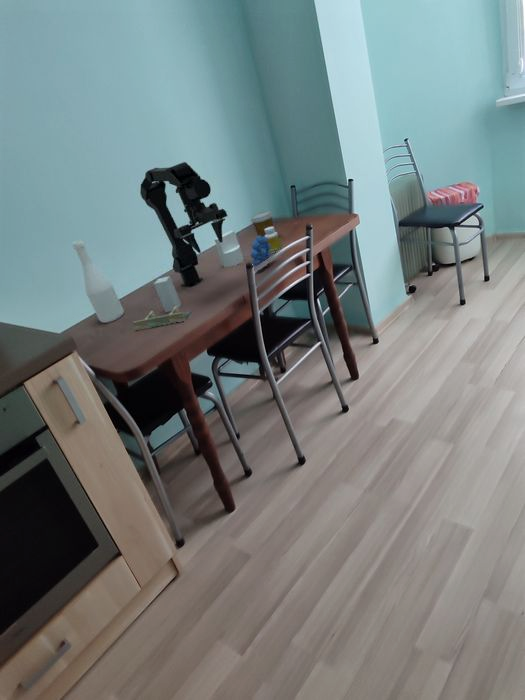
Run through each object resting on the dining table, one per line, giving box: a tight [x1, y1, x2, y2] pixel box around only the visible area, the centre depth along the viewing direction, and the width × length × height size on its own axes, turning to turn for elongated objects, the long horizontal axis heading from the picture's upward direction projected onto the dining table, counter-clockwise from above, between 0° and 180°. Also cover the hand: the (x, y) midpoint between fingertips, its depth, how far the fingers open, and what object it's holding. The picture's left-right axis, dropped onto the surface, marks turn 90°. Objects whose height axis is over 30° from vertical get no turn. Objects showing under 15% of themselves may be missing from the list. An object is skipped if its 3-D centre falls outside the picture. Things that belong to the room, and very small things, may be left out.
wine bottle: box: [72, 239, 125, 324], centre depth 175 cm, size 10×10×30 cm
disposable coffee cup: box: [250, 210, 274, 237], centre depth 210 cm, size 10×10×12 cm
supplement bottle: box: [264, 226, 282, 255], centre depth 194 cm, size 5×5×10 cm
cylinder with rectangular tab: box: [214, 230, 245, 268], centre depth 196 cm, size 9×9×12 cm
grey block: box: [153, 276, 182, 313], centre depth 169 cm, size 4×4×11 cm
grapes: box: [249, 235, 272, 271], centre depth 180 cm, size 12×7×12 cm, turn 144°
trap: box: [132, 306, 192, 331], centre depth 162 cm, size 7×18×3 cm, turn 79°
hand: (210, 247), depth 165 cm, fingers open, 9 cm apart
